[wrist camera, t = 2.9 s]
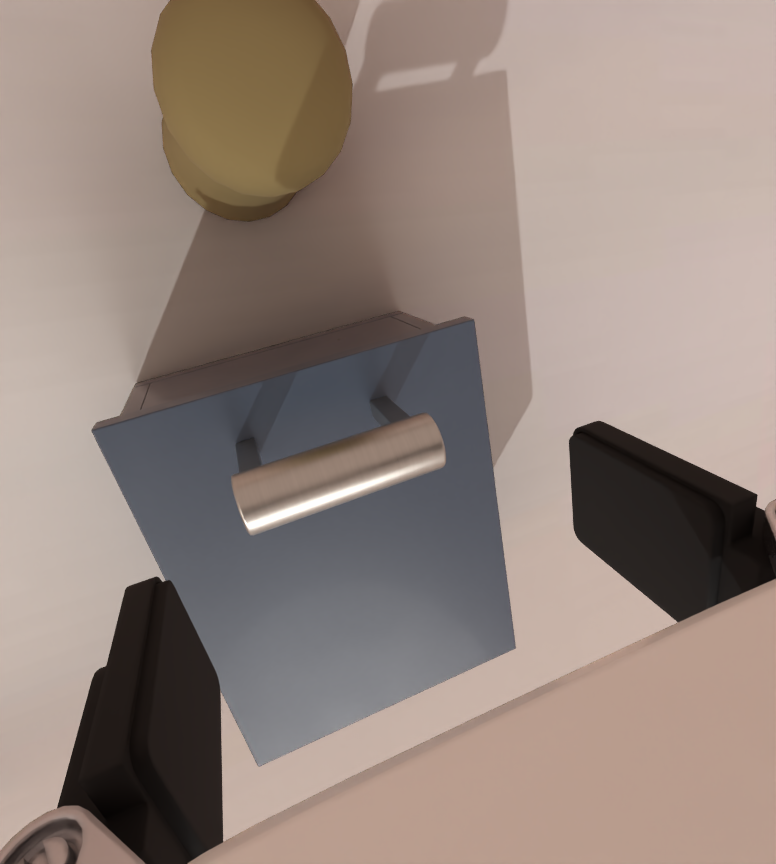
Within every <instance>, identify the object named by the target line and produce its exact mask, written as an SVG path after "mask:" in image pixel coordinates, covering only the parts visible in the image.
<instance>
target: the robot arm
mask: <svg viewBox="0 0 776 864" xmlns="http://www.w3.org/2000/svg"><path fill="white" fill-rule="evenodd" d="M569 451H570V469H571V488H572V506H573V525H574V531H575V534H576V536H577V538H578V539H579V540H580V541H581V542H582V543H583V544H584V545H585V546H586V547H588V548H589V549H590V550H591V551H592V552H594V553H595V554H596V555H597V556H598V557H600V558H601V559H602V560H603V561H604V562H606V563H607V564H608V565H609V566H611V567H612V568H613V569H614V570H615V571H617V572H618V573H619V574H620V575H621V576H623V577H624V578H625V579H626V580H628V581H629V582H630V583H631V584H632V585H634V586H635V587H636V588H637V589H638V590H640V591H641V592H642V593H643V594H644V595H646V596H647V597H648V598H649V599H651V600H652V601H653V602H654V603H655V604H657V605H658V606H659V607H660V608H661V609H663V610H664V611H665V612H666V613H668V614H669V615H670V616H671V617H672V618H674V619H675V620H676V621H677V622H678V623H676V624H674V625H672V626H670V627H667V628H665V629H663V630H661V631H659V632H657V633H655V634H652V635H650V636H648V637H646V638H644V639H642V640H639V641H637V642H635V643H633V644H631V645H629V646H626V647H624V648H622V649H620V650H618V651H616V652H614V653H611V654H609V655H607V656H605V657H603V658H601V659H599V660H597V661H594V662H592V663H590V664H588V665H586V666H584V667H582V668H579V669H577V670H575V671H573V672H571V673H569V674H567V675H565V676H562V677H560V678H558V679H556V680H554V681H552V682H550V683H548V684H545V685H543V686H541V687H539V688H537V689H535V690H533V691H531V692H529V693H526V694H524V695H522V696H520V697H518V698H516V699H514V700H512V701H509V702H507V703H505V704H503V705H501V706H499V707H497V708H495V709H493V710H490V711H488V712H486V713H484V714H482V715H480V716H478V717H476V718H473V719H471V720H469V721H467V722H465V723H463V724H461V725H459V726H457V727H455V728H453V729H450V730H448V731H446V732H444V733H442V734H440V735H438V736H436V737H434V738H432V739H430V740H427V741H425V742H423V743H421V744H419V745H417V746H415V747H413V748H411V749H409V750H407V751H404V752H402V753H400V754H398V755H396V756H394V757H392V758H390V759H388V760H386V761H384V762H381V763H379V764H377V765H375V766H373V767H371V768H369V769H367V770H365V771H363V772H361V773H358V774H356V775H354V776H352V777H350V778H348V779H346V780H344V781H342V782H340V783H338V784H336V785H334V786H332V787H330V788H328V789H326V790H324V791H322V792H320V793H318V794H316V795H314V796H312V797H310V798H308V799H306V800H304V801H302V802H300V803H298V804H296V805H294V806H292V807H290V808H288V809H286V810H284V811H282V812H280V813H278V814H276V815H274V816H272V817H270V818H268V819H266V820H264V821H262V822H260V823H258V824H256V825H254V826H252V827H250V828H248V829H246V830H244V831H243V832H241V833H239V834H237V835H235V836H234V837H232V838H230V839H228V840H226V841H225V842H223V811H222V755H221V698H220V684H219V679H218V676H217V673H216V670H215V668H214V666H213V664H212V662H211V660H210V658H209V656H208V654H207V652H206V650H205V648H204V646H203V644H202V642H201V640H200V638H199V636H198V634H197V631H196V629H195V627H194V625H193V623H192V621H191V619H190V617H189V615H188V613H187V611H186V609H185V607H184V605H183V603H182V601H181V599H180V597H179V595H178V593H177V590H176V588H175V586H174V585H173V583H172V581H171V580H167V581H164V582H162V581H161V580H160V578H159V577H154V578H151V579H148V580H145V581H142V582H140V583H137V584H134V585H131V586H128V587H127V588H126V590H125V593H124V597H123V601H122V605H121V609H120V613H119V617H118V621H117V625H116V629H115V634H114V638H113V642H112V646H111V650H110V654H109V658H108V662H107V666H105V667H103V668H100V669H99V670H98V671H96V672H95V674H94V677H93V679H92V682H91V686H90V689H89V693H88V697H87V700H86V704H85V708H84V711H83V715H82V719H81V722H80V726H79V730H78V733H77V737H76V741H75V744H74V748H73V752H72V755H71V759H70V763H69V766H68V770H67V774H66V777H65V781H64V785H63V789H62V792H61V796H60V800H59V803H58V807H57V809H54V810H51V811H49V812H46V813H45V814H43V815H42V816H40V817H38V818H37V819H35V820H33V821H32V822H30V823H29V824H28V825H26V826H25V827H24V828H23V829H22V830H21V831H19V832H18V833H17V834H16V835H15V836H14V837H12V838H11V839H10V841H9V842H8V843H7V844H6V845H5V846H4V847H3V848H2V850H1V851H0V864H776V499H775V500H773V501H772V502H770V503H769V504H768V505H767V507H766V508H765V511H764V510H762V509H760V508H758V507H756V502H757V494H755V493H753V492H751V491H749V490H746V489H744V488H742V487H740V486H738V485H736V484H734V483H732V482H729V481H727V480H725V479H723V478H721V477H719V476H717V475H715V474H712V473H710V472H708V471H706V470H704V469H702V468H700V467H698V466H695V465H693V464H691V463H689V462H687V461H685V460H683V459H681V458H678V457H676V456H674V455H672V454H670V453H668V452H666V451H664V450H661V449H659V448H657V447H655V446H653V445H651V444H649V443H647V442H644V441H642V440H640V439H638V438H636V437H634V436H632V435H630V434H627V433H625V432H623V431H621V430H619V429H617V428H615V427H613V426H611V425H608V424H606V423H604V422H602V421H596V422H593V423H590V424H587V425H584V426H581V427H579V428H577V429H575V431H574V433H573V436H572V437H571V438H570V440H569Z"/></svg>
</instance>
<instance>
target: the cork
mask: <svg viewBox="0 0 776 864" xmlns="http://www.w3.org/2000/svg"><path fill="white" fill-rule="evenodd" d="M151 54H152V70H153V86H154V91H155V94H156V97H157V99H158V102H159V105H160V108H161V111H162V114H163V119H162V135H163V149H164V151H165V154H166V157H167V160H168V163H169V165H170V168H171V171H172V173H173V175H174V176H175V178H176V179H177V181H178V182H179V183H180V185H181V186H182V188H183V189H184V190H185V192H186V193H187V195H189V196H190V197H191V198H192V199H193V200H195V201H196V202H197V203H198V204H200V205H201V206H202V207H203V208H204V209H206V210H207V211H210V212H212V213H214V214H216V215H219V216H221V217H223V218H226V219H229V220H239V221H249V222H250V221H254V220H258V219H262V218H266V217H270V216H271V215H273V214H275V213H276V212H278V211H279V210H281V209H282V208H284V207H285V206H287V204H288V203H289V202H290V200H291V199H292V197H293V196H294V195H295V193H296V192H297V191H299V190H301V189H303V188H304V187H306V186H307V185H309V184H310V183H312V182H313V181H315V180H316V179H318V178H319V177H321V176H322V175H324V173H325V172H326V171H327V169H328V168H329V167H330V165H331V164H332V163H333V161H334V160H335V159H336V157H337V156H338V154H339V153H340V152H341V149H342V146H343V143H344V140H345V137H346V134H347V131H348V128H349V125H350V122H351V106H352V86H353V84H352V79H351V74H350V70H349V65H348V60H347V55H346V50H345V48H344V46H343V44H342V42H341V40H340V38H339V36H338V34H337V32H336V29H335V27H334V25H333V23H332V21H331V19H330V17H329V16H328V15H327V14H326V12H325V11H324V10H323V9H322V8H321V7H320V5H319V4H318V3H317V2H316V1H315V0H170V1H169V2H168V4H167V5H166V7H165V8H164V10H163V11H162V13H161V14H160V17H159V21H158V25H157V29H156V33H155V37H154V41H153V45H152V49H151Z"/></svg>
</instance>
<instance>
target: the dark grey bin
mask: <svg viewBox="0 0 776 864" xmlns="http://www.w3.org/2000/svg"><path fill="white" fill-rule="evenodd" d="M434 325H435V324H432V323H430V322H427V321H424V320H422V319H419V318H417V317H414V316H411V315H409V314H406V313H403V312H400V311H397V312H393V313H389V314H386V315H382V316H379V317H375V318H371V319H368V320H364V321H360V322H357V323H353V324H350V325H346V326H342V327H339V328H335V329H331V330H328V331H324V332H321V333H317V334H313V335H310V336H306V337H302V338H299V339H295V340H292V341H288V342H284V343H281V344H277V345H273V346H270V347H266V348H263V349H259V350H255V351H252V352H248V353H245V354H241V355H237V356H234V357H230V358H226V359H223V360H219V361H216V362H212V363H208V364H205V365H201V366H197V367H194V368H190V369H187V370H183V371H179V372H176V373H172V374H168V375H165V376H161V377H158V378H154V379H150V380H147V381H143V382H139V383H136V384H135V386H134V388H133V389H132V391H131V394H130V396H129V398H128V400H127V402H126V404H125V406H124V408H123V411H122V413H121V415H124V414H128V413H131V412H135V411H138V410H141V409H145V408H148V407H152V406H155V405H159V404H162V403H166V402H169V401H173V400H176V399H180V398H183V397H187V396H190V395H194V394H197V393H201V392H204V391H208V390H211V389H214V388H218V387H221V386H225V385H228V384H232V383H235V382H239V381H242V380H246V379H249V378H253V377H256V376H260V375H263V374H267V373H270V372H274V371H277V370H281V369H284V368H287V367H291V366H294V365H298V364H301V363H305V362H308V361H312V360H315V359H319V358H322V357H326V356H329V355H333V354H336V353H340V352H343V351H347V350H350V349H354V348H357V347H361V346H364V345H367V344H371V343H374V342H378V341H381V340H385V339H388V338H392V337H395V336H399V335H402V334H406V333H409V332H413V331H416V330H420V329H423V328H427V327H430V326H434ZM121 415H120V416H121Z"/></svg>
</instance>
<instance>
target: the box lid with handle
mask: <svg viewBox="0 0 776 864" xmlns="http://www.w3.org/2000/svg"><path fill="white" fill-rule="evenodd" d="M92 433H93V435H94V437H95V439H96V441H97V443H98V445H99V447H100V449H101V451H102V453H103V455H104V457H105V459H106V461H107V463H108V465H109V467H110V469H111V471H112V473H113V475H114V477H115V479H116V481H117V483H118V485H119V487H120V489H121V491H122V493H123V495H124V497H125V499H126V501H127V503H128V505H129V507H130V509H131V511H132V513H133V515H134V517H135V519H136V521H137V523H138V525H139V527H140V530H141V532H142V534H143V536H144V538H145V540H146V542H147V544H148V546H149V548H150V550H151V552H152V554H153V556H154V558H155V560H156V562H157V564H158V566H159V568H160V570H161V572H162V574H163V576H164V578H165V580H166V581H167V580H171V581H172V583H173V585H174V586H175V588H176V590H177V593H178V595H179V597H180V599H181V601H182V603H183V605H184V607H185V609H186V611H187V613H188V615H189V617H190V619H191V621H192V623H193V625H194V627H195V629H196V631H197V634H198V636H199V638H200V640H201V642H202V644H203V646H204V648H205V650H206V652H207V654H208V656H209V658H210V660H211V662H212V664H213V666H214V668H215V670H216V673H217V676H218V679H219V684H220V690H221V692H222V694H223V696H224V698H225V700H226V702H227V704H228V706H229V708H230V710H231V713H232V715H233V717H234V719H235V721H236V723H237V725H238V727H239V729H240V731H241V733H242V735H243V737H244V739H245V741H246V743H247V745H248V747H249V749H250V751H251V753H252V755H253V757H254V759H255V761H256V763H257V765H258V766H259V767H260V766H262V765H264V764H266V763H268V762H270V761H273V760H275V759H277V758H279V757H281V756H283V755H286V754H288V753H290V752H292V751H294V750H296V749H299V748H301V747H303V746H305V745H307V744H309V743H312V742H314V741H316V740H318V739H320V738H322V737H325V736H327V735H329V734H331V733H333V732H335V731H338V730H340V729H342V728H344V727H346V726H348V725H351V724H353V723H355V722H357V721H359V720H361V719H364V718H366V717H368V716H370V715H372V714H374V713H377V712H379V711H381V710H383V709H385V708H387V707H390V706H392V705H394V704H396V703H398V702H400V701H403V700H405V699H407V698H409V697H411V696H413V695H416V694H418V693H420V692H422V691H424V690H426V689H429V688H431V687H433V686H435V685H437V684H439V683H442V682H444V681H446V680H448V679H450V678H452V677H455V676H457V675H459V674H461V673H463V672H465V671H468V670H470V669H472V668H474V667H476V666H478V665H481V664H483V663H485V662H487V661H489V660H491V659H494V658H496V657H498V656H500V655H502V654H504V653H507V652H509V651H511V650H513V649H515V648H516V646H515V638H514V630H513V622H512V614H511V606H510V598H509V591H508V583H507V575H506V567H505V559H504V551H503V543H502V535H501V527H500V520H499V512H498V504H497V496H496V488H495V480H494V472H493V464H492V456H491V449H490V441H489V433H488V425H487V417H486V409H485V401H484V393H483V385H482V378H481V370H480V362H479V354H478V346H477V338H476V330H475V322H474V319H471V318H467V317H461V318H458V319H454V320H451V321H447V322H444V323H440V324H437V325H434V326H430V327H427V328H423V329H420V330H416V331H413V332H409V333H406V334H402V335H399V336H395V337H392V338H388V339H385V340H381V341H378V342H374V343H371V344H367V345H364V346H361V347H357V348H354V349H350V350H347V351H343V352H340V353H336V354H333V355H329V356H326V357H322V358H319V359H315V360H312V361H308V362H305V363H301V364H298V365H294V366H291V367H287V368H284V369H281V370H277V371H274V372H270V373H267V374H263V375H260V376H256V377H253V378H249V379H246V380H242V381H239V382H235V383H232V384H228V385H225V386H221V387H218V388H214V389H211V390H208V391H204V392H201V393H197V394H194V395H190V396H187V397H183V398H180V399H176V400H173V401H169V402H166V403H162V404H159V405H155V406H152V407H148V408H145V409H141V410H138V411H135V412H131V413H128V414H124V415H121V416H117V417H114V418H110V419H107V420H103V421H100V422H97V423H96V424H95V426H94V427H93V429H92Z"/></svg>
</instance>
